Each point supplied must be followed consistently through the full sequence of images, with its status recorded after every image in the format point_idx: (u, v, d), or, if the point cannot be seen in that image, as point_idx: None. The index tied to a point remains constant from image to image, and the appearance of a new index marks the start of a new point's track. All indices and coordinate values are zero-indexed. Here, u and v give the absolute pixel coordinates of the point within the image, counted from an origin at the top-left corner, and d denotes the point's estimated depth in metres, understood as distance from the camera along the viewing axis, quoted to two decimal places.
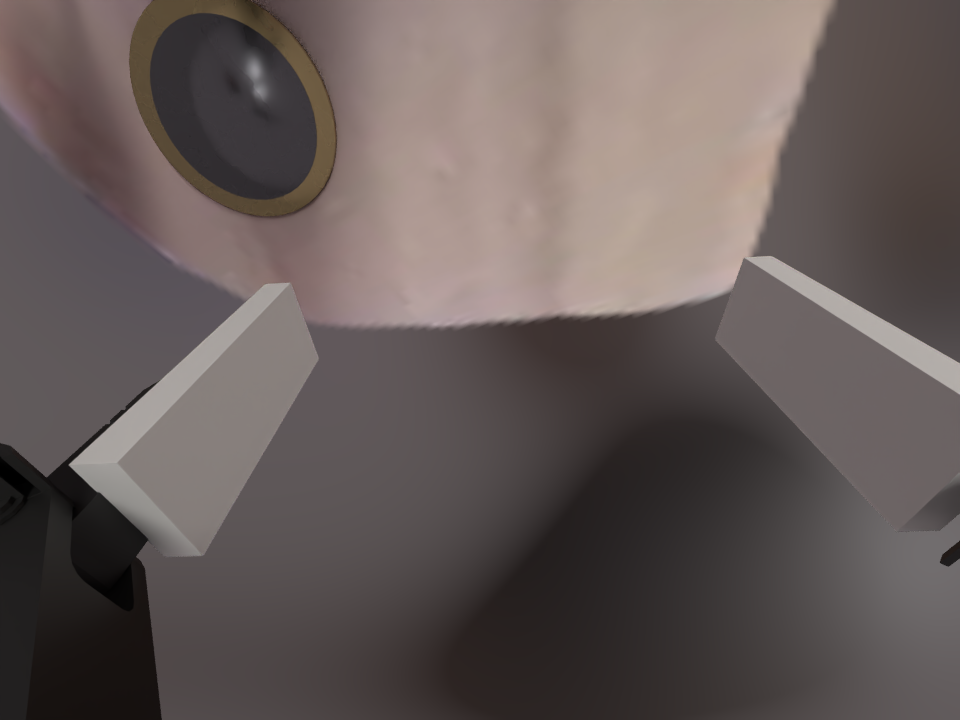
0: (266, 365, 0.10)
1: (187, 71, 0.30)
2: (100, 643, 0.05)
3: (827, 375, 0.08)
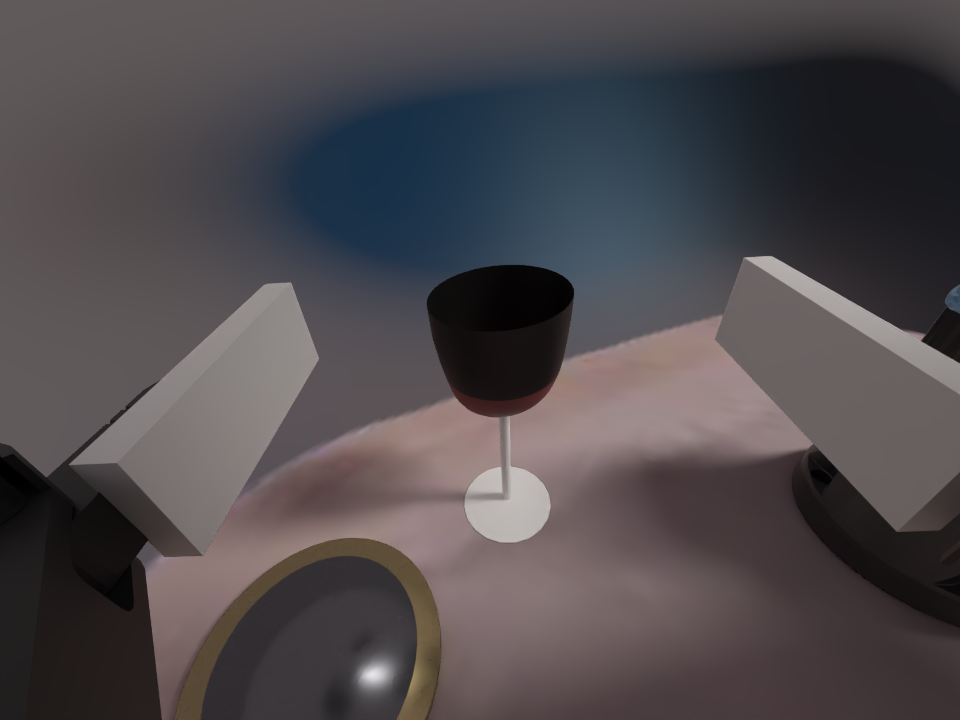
0: (266, 365, 0.10)
1: (362, 595, 0.27)
2: (100, 642, 0.05)
3: (827, 375, 0.08)
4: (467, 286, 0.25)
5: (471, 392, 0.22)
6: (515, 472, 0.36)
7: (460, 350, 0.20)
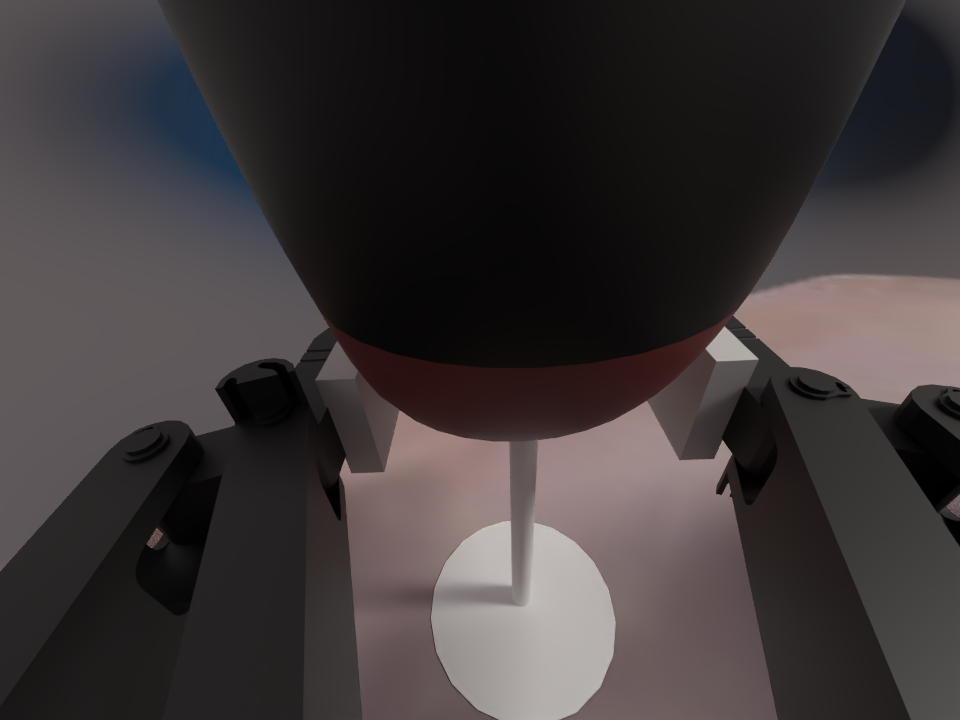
0: None
1: None
2: (329, 542, 0.06)
3: None
4: None
5: (381, 324, 0.04)
6: (535, 533, 0.18)
7: None
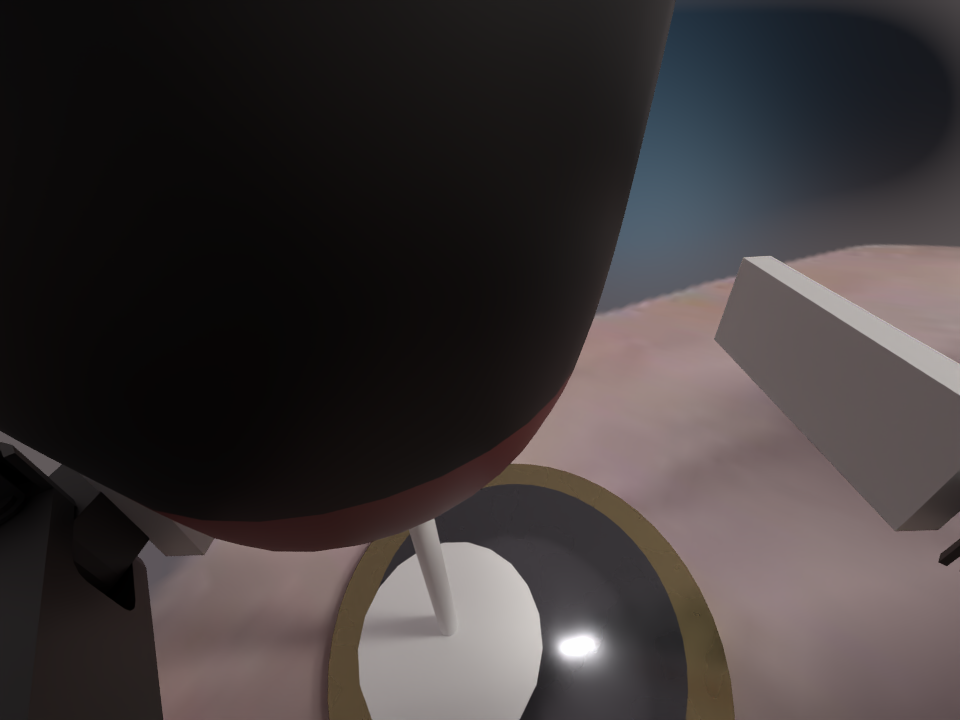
0: None
1: (556, 532, 0.19)
2: (101, 642, 0.05)
3: (826, 375, 0.08)
4: None
5: (82, 472, 0.04)
6: (472, 555, 0.18)
7: None
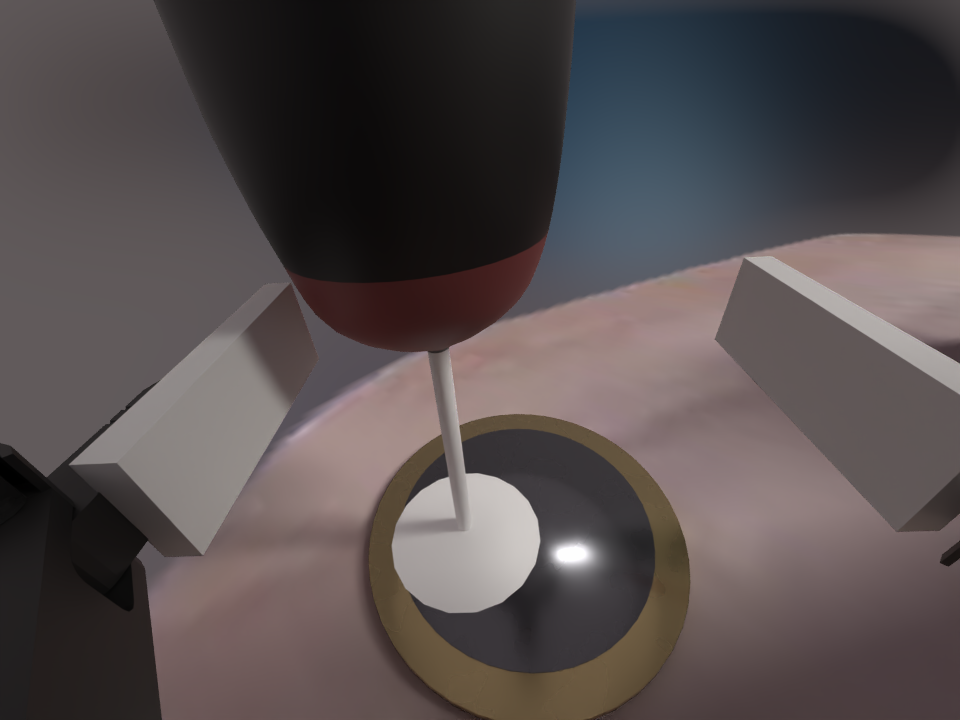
0: (266, 365, 0.10)
1: (551, 463, 0.23)
2: (100, 643, 0.05)
3: (827, 375, 0.08)
4: None
5: (311, 262, 0.08)
6: (482, 482, 0.22)
7: (227, 83, 0.06)
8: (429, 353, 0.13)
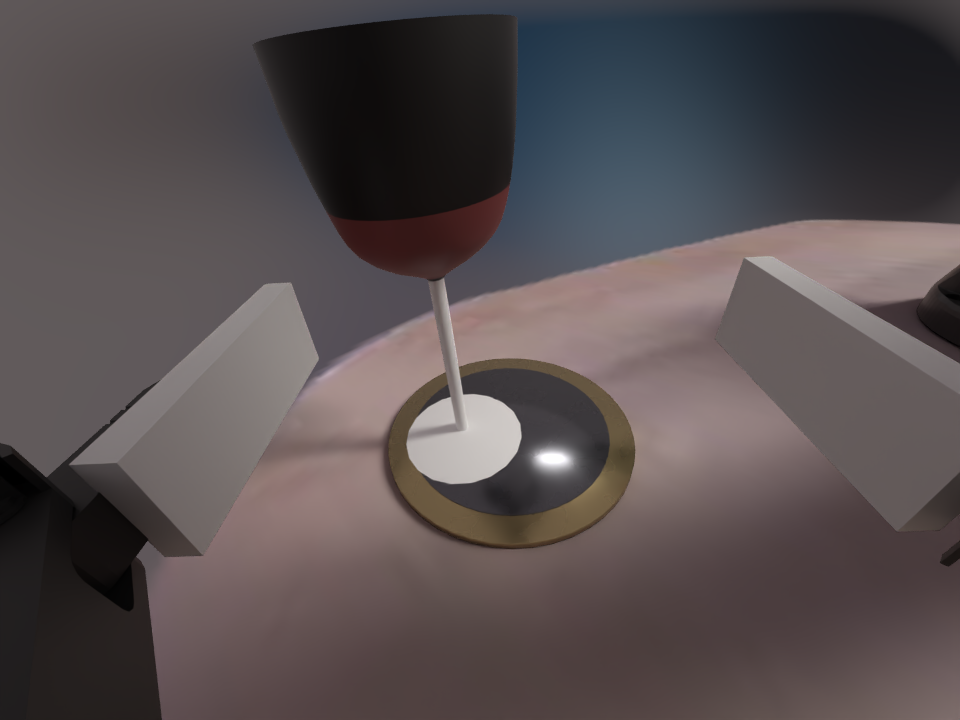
0: (266, 365, 0.10)
1: (533, 391, 0.28)
2: (100, 643, 0.05)
3: (827, 375, 0.08)
4: None
5: (350, 207, 0.13)
6: (476, 400, 0.27)
7: (303, 98, 0.11)
8: (429, 282, 0.18)
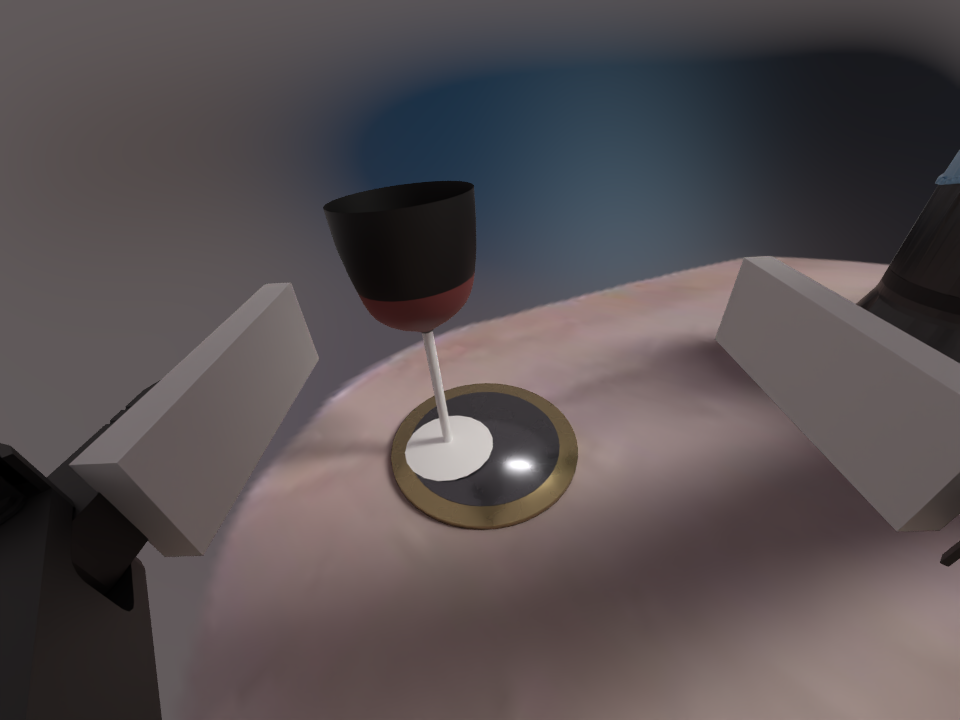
0: (266, 365, 0.10)
1: (505, 411, 0.36)
2: (100, 643, 0.05)
3: (827, 375, 0.08)
4: (381, 206, 0.25)
5: (374, 294, 0.21)
6: (460, 420, 0.35)
7: (352, 240, 0.19)
8: (422, 333, 0.26)
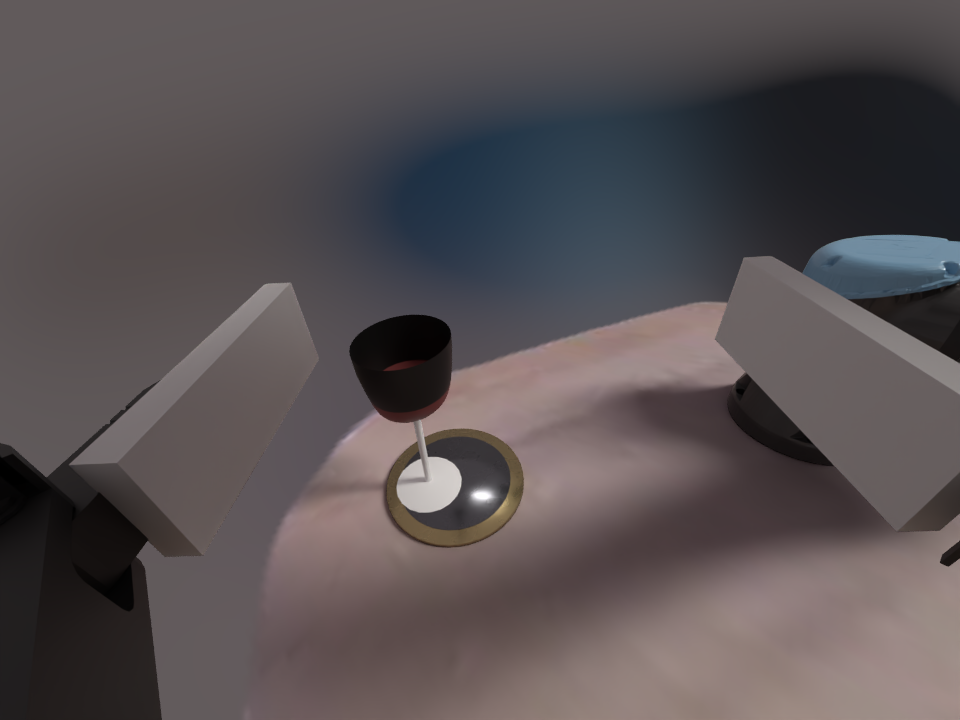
0: (266, 365, 0.10)
1: (473, 453, 0.48)
2: (100, 643, 0.05)
3: (827, 375, 0.08)
4: (386, 330, 0.36)
5: (381, 406, 0.32)
6: (439, 461, 0.47)
7: (368, 381, 0.30)
8: None
